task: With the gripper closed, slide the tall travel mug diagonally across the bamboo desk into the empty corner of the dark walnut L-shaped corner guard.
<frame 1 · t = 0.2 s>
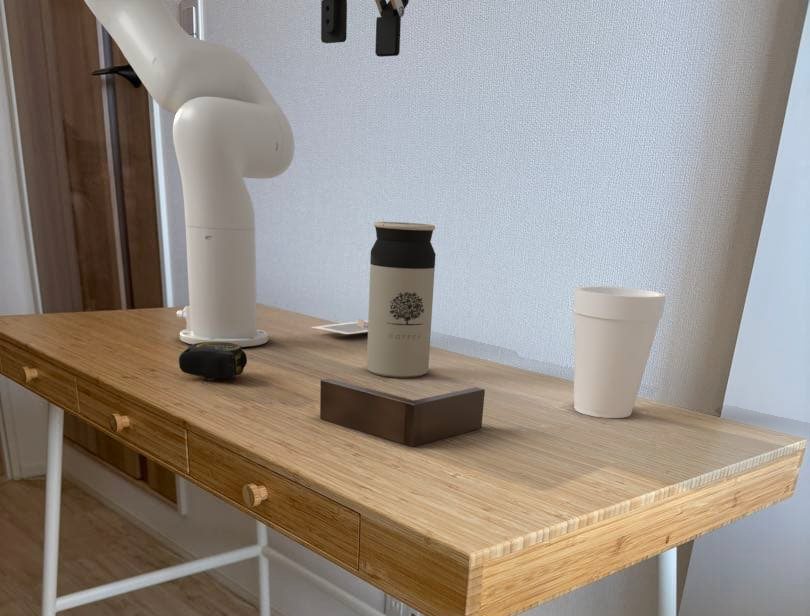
hand: (361, 49, 95), 36 cm above the table, tool pointing down, fingers open, 9 cm apart
foam cup: (602, 412, 94), on the table
touchpad: (360, 334, 134), on the table
corner guard: (407, 424, 84), on the table
travel mug: (397, 373, 108), on the table
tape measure: (216, 380, 99), on the table
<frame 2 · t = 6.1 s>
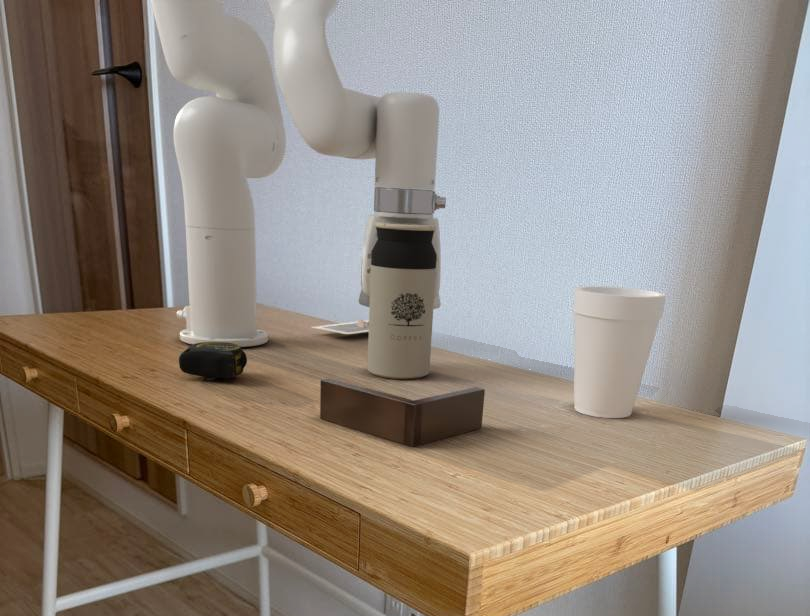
hand: (397, 352, 111), 2 cm above the table, tool pointing down, fingers closed
travel mug: (398, 374, 107), on the table, touching gripper
everything else where it was.
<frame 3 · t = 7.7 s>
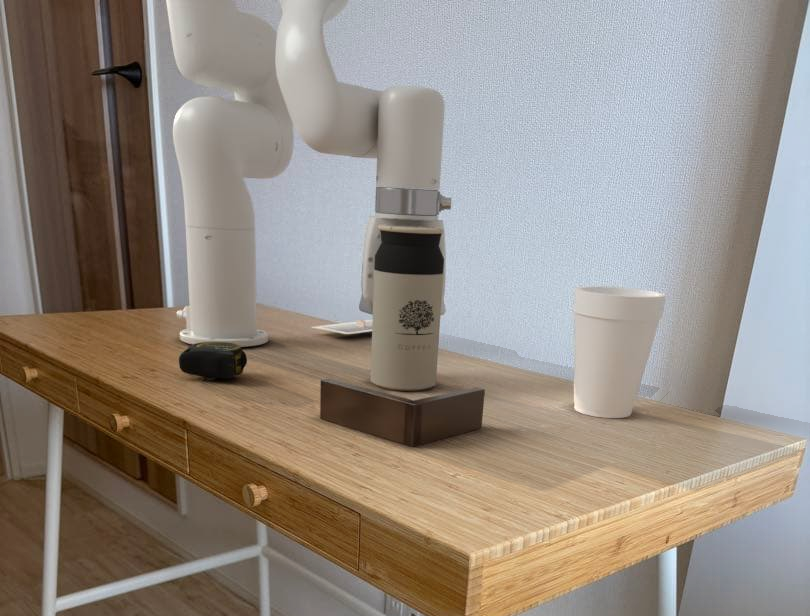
hand: (399, 361, 105), 2 cm above the table, tool pointing down, fingers closed
travel mug: (402, 386, 101), on the table, touching gripper
everything else where it was.
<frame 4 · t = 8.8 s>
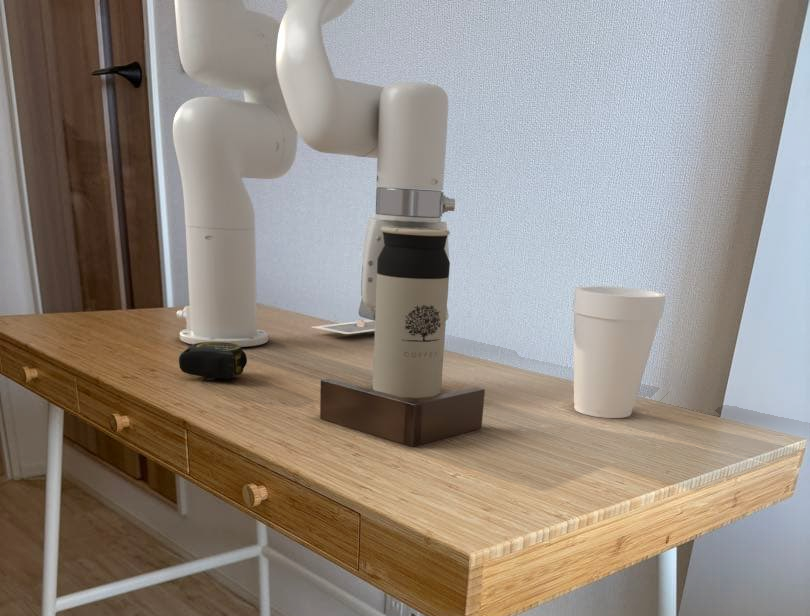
hand: (400, 368, 101), 2 cm above the table, tool pointing down, fingers closed
travel mug: (406, 394, 97), on the table, touching gripper
everything else where it was.
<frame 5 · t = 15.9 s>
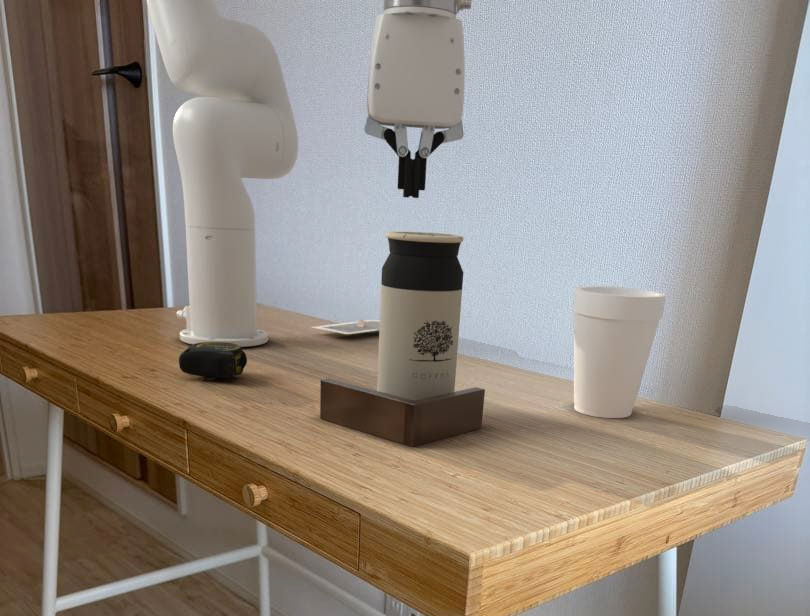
hand: (410, 197, 92), 21 cm above the table, tool pointing down, fingers closed
travel mug: (414, 419, 87), on the table
everything else where it was.
at the end: travel mug 3.0 cm off-centre on the corner guard, point 0.0 cm above the corner guard's base; travel mug tilted 0°; travel mug moved 22.7 cm from its start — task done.
